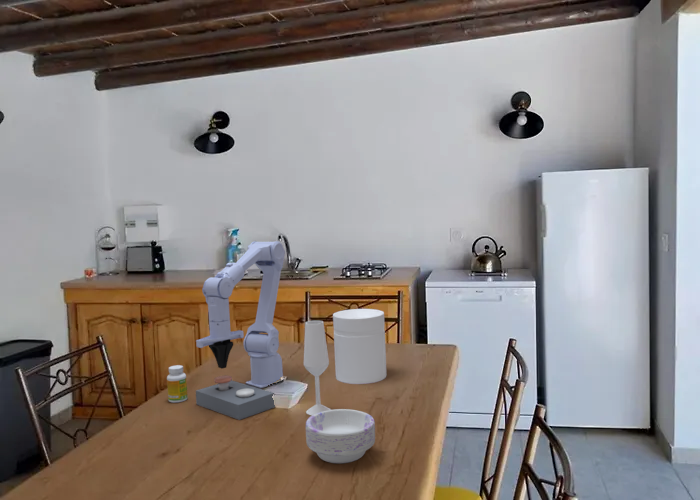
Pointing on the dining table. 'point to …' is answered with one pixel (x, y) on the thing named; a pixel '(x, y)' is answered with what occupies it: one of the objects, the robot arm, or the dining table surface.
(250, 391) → the grey plunger
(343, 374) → the canister
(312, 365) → the champagne flute
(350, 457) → the paper bowls
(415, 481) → the dining table surface
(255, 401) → the panel
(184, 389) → the supplement bottle
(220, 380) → the red plunger
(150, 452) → the dining table surface
